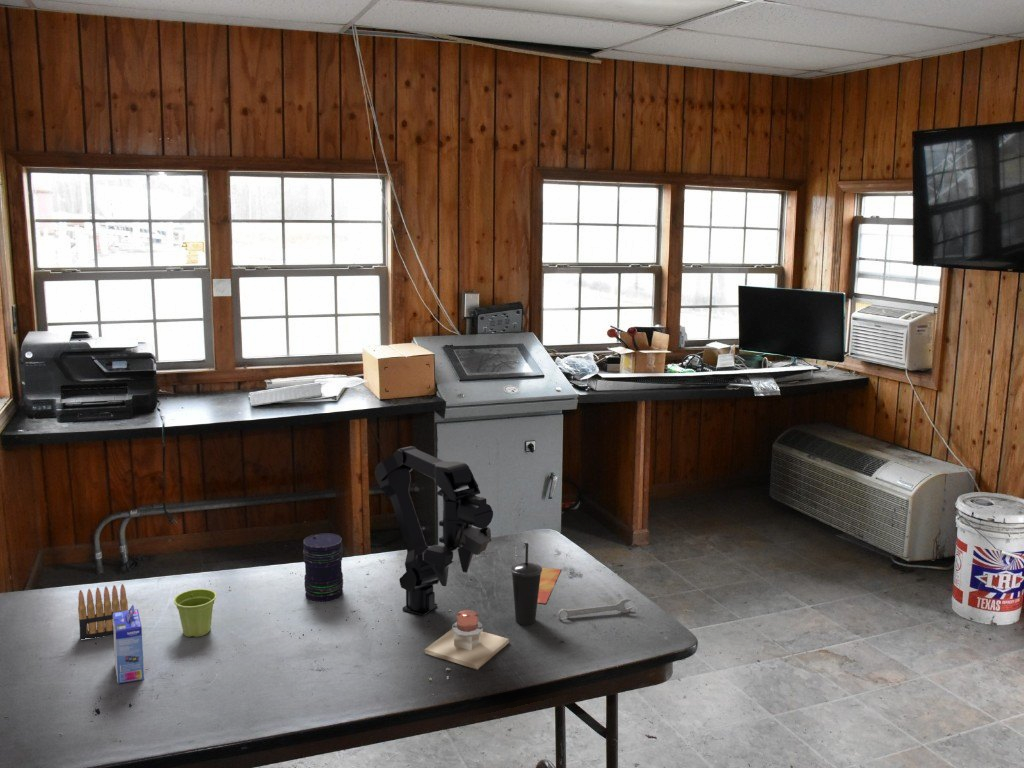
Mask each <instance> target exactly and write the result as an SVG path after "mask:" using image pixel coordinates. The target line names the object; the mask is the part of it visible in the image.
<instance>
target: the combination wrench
mask: <svg viewBox="0 0 1024 768" xmlns="http://www.w3.org/2000/svg"><path fill="white" fill-rule="evenodd" d="M630 601H632V599H631V598H625V597H624V598H622V599H620V600H619V602H617V603H614V604H607V605H597V606H591V607H581V608H574V609H573V608H572V609H566V608H561V609H559V611H558V612H557V618H558V619H559V620H560V621H563V620H568V619H569V618H571V617H574V616H582V615H589V614H590V615H591V614H598V613H605V612H611V611H618V612H621V613H622V614H625V613H629V612H631V610H633V609H634V606H630V607H626V606H625V605H626V604H627V603H629V602H630ZM563 612H565V613H566V614H565V616H564V617H561V614H562V613H563Z"/></svg>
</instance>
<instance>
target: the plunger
mask: <svg viewBox="0 0 1024 768" xmlns="http://www.w3.org/2000/svg"><path fill="white" fill-rule="evenodd" d="M451 629H452V631H453V632H454V633H455V634H457V635H459V636H465V637H469V636H475V635H478V634H480V633H481V632H482V631H483V629H484V628H483V624H482V623H481V622H480V621H479V613H478V612H477V611H475V610H472V609H464V610H460V611H458V612H457V613H456V621H455V622H454V623H453V624H452V626H451Z"/></svg>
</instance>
